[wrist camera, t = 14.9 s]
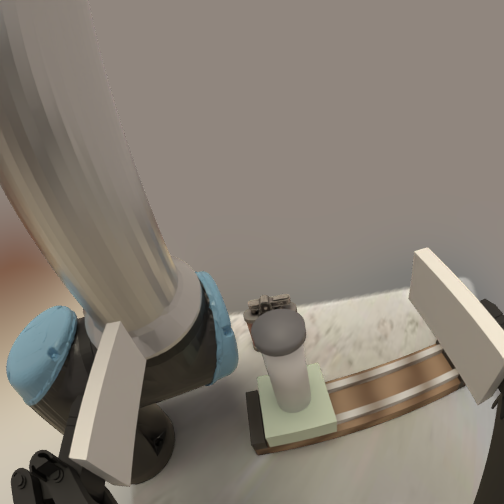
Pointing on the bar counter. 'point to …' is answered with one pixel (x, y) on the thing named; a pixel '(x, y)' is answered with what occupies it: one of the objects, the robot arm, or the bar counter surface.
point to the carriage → (290, 381)
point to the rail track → (373, 395)
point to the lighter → (266, 308)
